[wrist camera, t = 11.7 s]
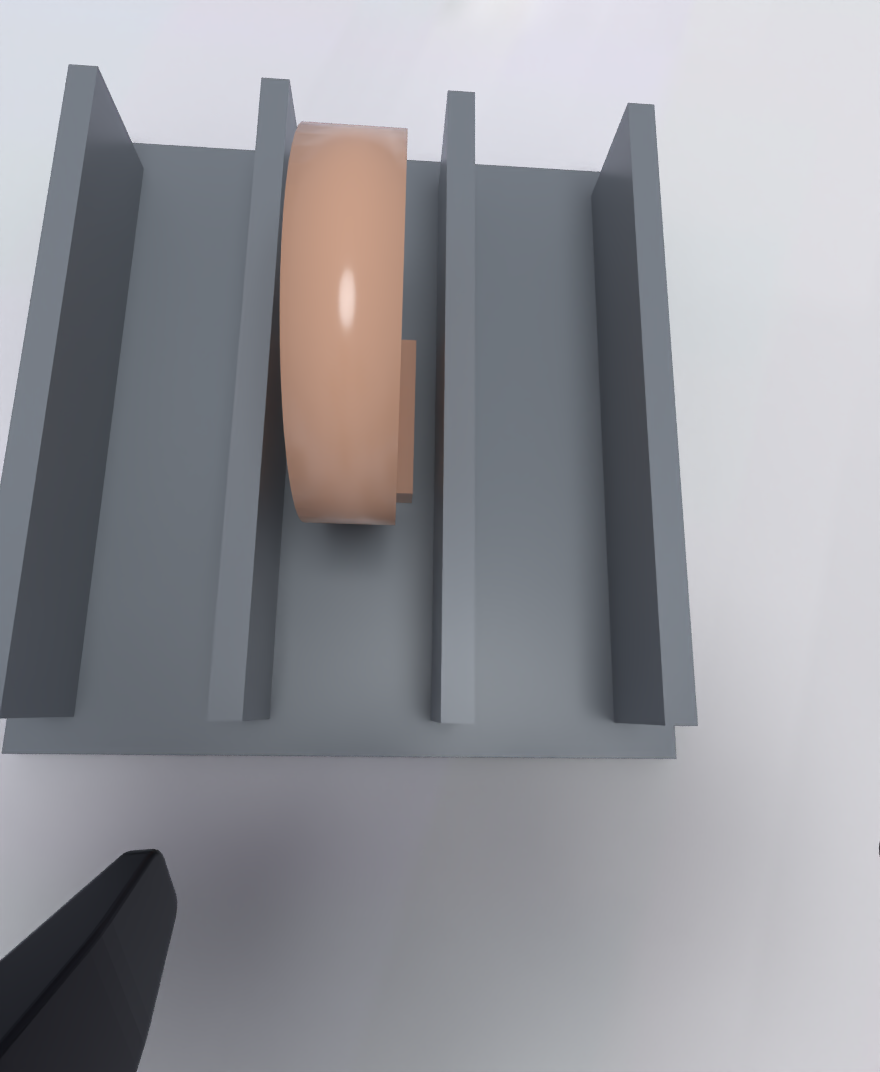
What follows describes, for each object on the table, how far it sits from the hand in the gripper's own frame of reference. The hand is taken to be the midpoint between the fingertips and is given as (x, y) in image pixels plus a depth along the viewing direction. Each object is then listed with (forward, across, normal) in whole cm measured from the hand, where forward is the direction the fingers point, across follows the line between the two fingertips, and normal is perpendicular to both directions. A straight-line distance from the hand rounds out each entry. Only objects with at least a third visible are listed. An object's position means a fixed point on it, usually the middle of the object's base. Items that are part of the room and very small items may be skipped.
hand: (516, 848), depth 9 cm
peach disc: (+16, +3, -2) cm, 16 cm away
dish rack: (+16, +4, -2) cm, 17 cm away
